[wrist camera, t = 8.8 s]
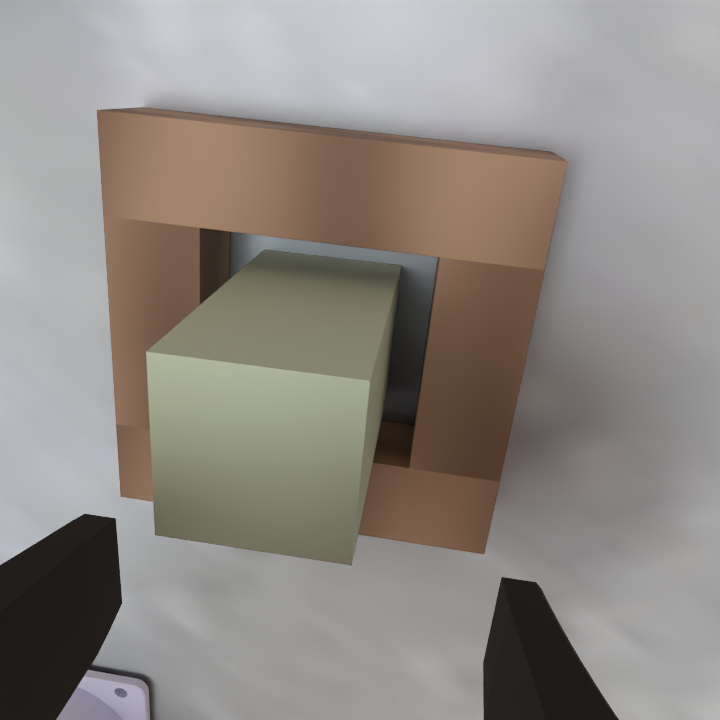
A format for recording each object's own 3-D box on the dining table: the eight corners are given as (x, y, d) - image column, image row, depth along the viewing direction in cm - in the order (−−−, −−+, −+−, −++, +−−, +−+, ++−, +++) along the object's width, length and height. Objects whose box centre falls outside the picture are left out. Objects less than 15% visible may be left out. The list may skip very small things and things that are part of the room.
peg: (260, 374, 20) (155, 535, 13) (264, 249, 19) (146, 351, 11) (387, 391, 20) (351, 565, 13) (401, 265, 18) (370, 380, 11)
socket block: (155, 454, 22) (120, 496, 20) (142, 107, 18) (96, 109, 15) (480, 503, 21) (484, 554, 19) (551, 151, 17) (567, 161, 14)
